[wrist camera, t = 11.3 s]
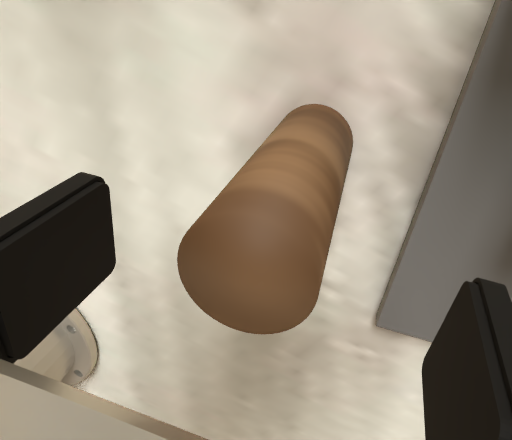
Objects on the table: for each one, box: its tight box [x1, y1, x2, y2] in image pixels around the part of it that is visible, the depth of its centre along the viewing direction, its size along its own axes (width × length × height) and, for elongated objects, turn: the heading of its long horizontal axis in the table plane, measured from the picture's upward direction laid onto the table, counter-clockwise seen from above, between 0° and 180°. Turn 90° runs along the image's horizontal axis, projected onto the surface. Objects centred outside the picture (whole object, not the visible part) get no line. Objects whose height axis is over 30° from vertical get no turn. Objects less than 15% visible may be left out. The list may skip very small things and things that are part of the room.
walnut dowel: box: [177, 104, 353, 334], centre depth 16 cm, size 4×4×12 cm
